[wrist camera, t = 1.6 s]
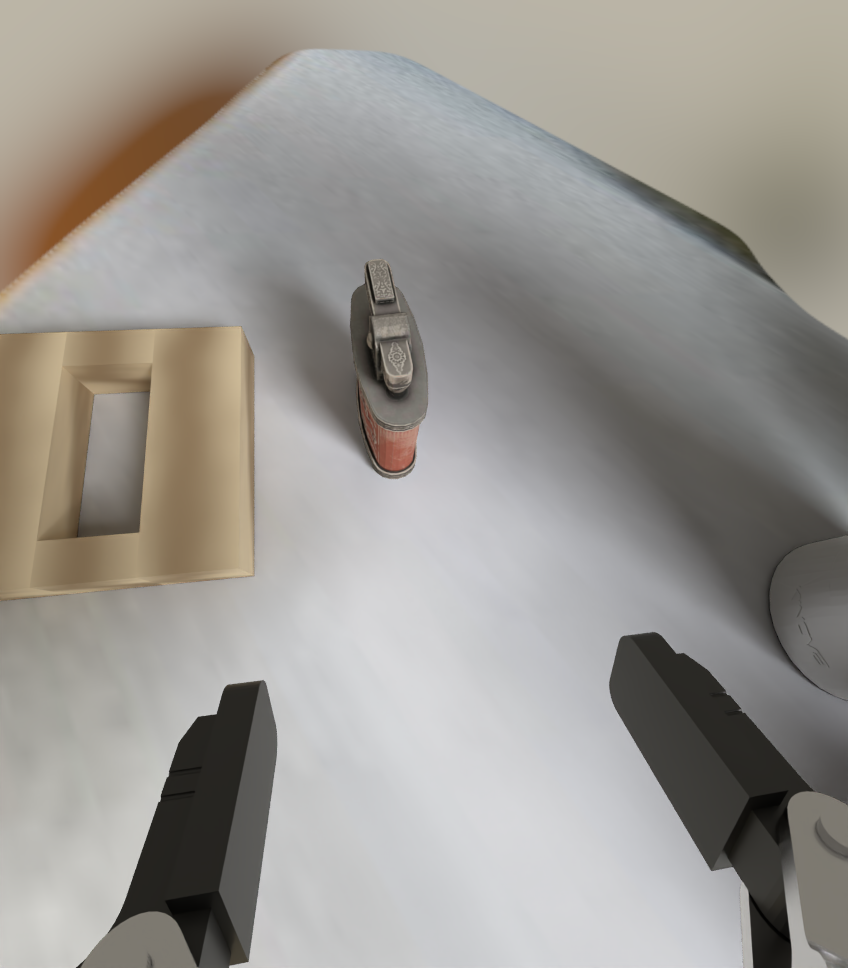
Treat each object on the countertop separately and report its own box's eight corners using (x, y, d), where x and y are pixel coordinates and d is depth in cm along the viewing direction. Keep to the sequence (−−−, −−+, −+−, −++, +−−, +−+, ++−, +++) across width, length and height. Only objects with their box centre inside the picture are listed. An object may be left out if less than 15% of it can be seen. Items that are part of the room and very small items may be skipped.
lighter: (424, 474, 28) (448, 391, 19) (369, 483, 28) (365, 402, 18) (400, 361, 31) (410, 237, 21) (349, 367, 30) (335, 243, 21)
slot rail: (254, 356, 30) (241, 326, 27) (254, 575, 25) (238, 567, 23) (14, 366, 28) (-28, 335, 25) (-30, 603, 24) (-86, 599, 21)
